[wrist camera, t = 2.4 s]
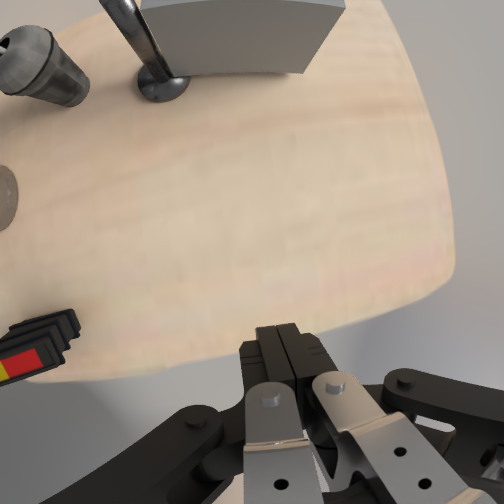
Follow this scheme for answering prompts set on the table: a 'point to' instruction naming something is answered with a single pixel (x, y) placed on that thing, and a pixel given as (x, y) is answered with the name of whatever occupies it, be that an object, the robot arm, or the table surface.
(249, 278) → the table surface
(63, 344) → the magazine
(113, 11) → the hinge post
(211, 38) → the door
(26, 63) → the beverage cup
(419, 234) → the table surface
